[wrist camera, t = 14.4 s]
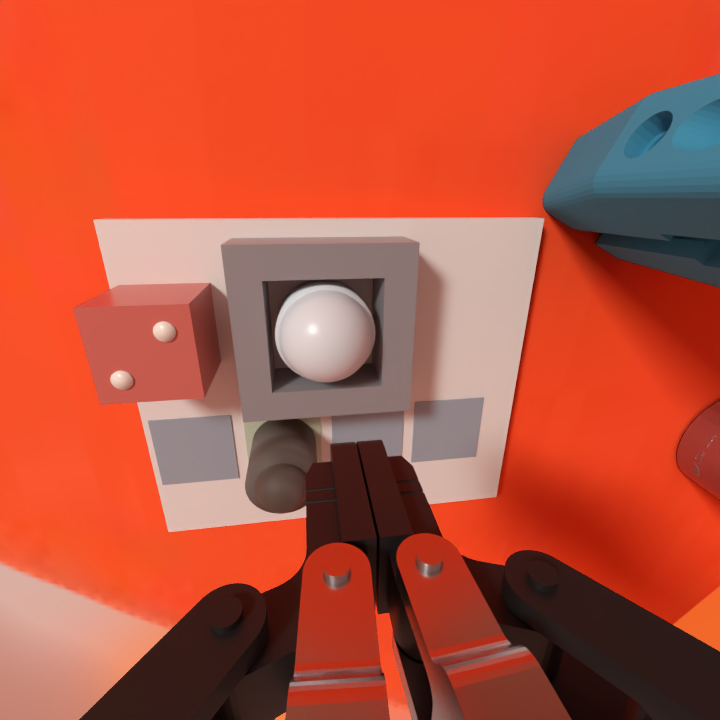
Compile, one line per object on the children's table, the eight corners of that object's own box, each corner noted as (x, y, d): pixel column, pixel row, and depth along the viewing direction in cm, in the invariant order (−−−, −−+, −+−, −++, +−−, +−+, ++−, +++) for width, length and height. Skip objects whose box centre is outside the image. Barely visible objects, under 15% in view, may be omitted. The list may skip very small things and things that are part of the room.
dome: (368, 275, 24) (386, 295, 19) (367, 361, 26) (383, 398, 21) (273, 277, 23) (267, 299, 18) (280, 366, 25) (276, 406, 20)
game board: (533, 217, 26) (545, 218, 24) (489, 487, 34) (496, 497, 33) (103, 218, 22) (92, 219, 21) (173, 520, 31) (168, 533, 29)
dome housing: (402, 236, 24) (419, 242, 21) (396, 385, 28) (409, 410, 24) (231, 238, 22) (220, 245, 19) (249, 394, 26) (243, 422, 23)
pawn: (315, 414, 27) (319, 469, 22) (316, 466, 29) (320, 529, 24) (249, 418, 27) (237, 475, 21) (254, 471, 28) (245, 537, 23)
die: (210, 282, 23) (188, 304, 18) (221, 361, 25) (204, 399, 20) (118, 284, 22) (72, 308, 18) (137, 365, 24) (99, 405, 20)
